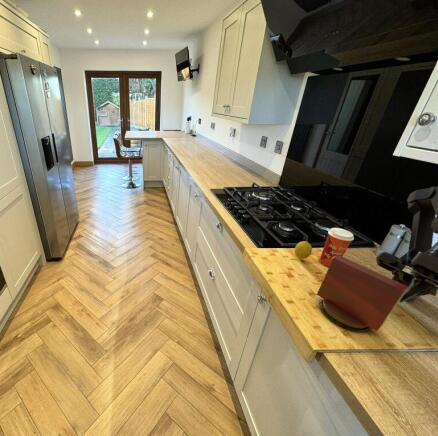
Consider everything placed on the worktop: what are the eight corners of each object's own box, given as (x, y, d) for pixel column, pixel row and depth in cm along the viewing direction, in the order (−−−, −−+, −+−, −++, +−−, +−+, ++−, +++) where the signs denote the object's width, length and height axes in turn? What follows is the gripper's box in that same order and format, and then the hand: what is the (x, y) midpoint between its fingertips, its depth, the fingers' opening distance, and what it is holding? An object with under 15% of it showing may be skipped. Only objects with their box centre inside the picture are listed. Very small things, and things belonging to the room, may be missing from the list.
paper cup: (320, 267, 89) (335, 235, 83) (313, 256, 96) (325, 225, 90) (344, 271, 88) (360, 238, 82) (334, 259, 94) (349, 228, 88)
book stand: (326, 289, 77) (345, 251, 70) (385, 324, 65) (414, 281, 58) (308, 302, 72) (326, 261, 65) (369, 341, 60) (399, 297, 53)
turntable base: (335, 296, 76) (336, 294, 75) (378, 324, 66) (379, 322, 66) (311, 306, 72) (312, 303, 71) (353, 337, 62) (354, 335, 62)
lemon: (288, 256, 96) (294, 239, 92) (298, 253, 97) (304, 237, 94) (301, 263, 91) (307, 246, 87) (311, 261, 93) (318, 244, 89)
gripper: (396, 226, 64) (355, 267, 65) (509, 266, 49) (453, 319, 50) (397, 245, 71) (359, 282, 71) (497, 285, 55) (448, 332, 56)
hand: (398, 301), depth 62 cm, fingers closed
